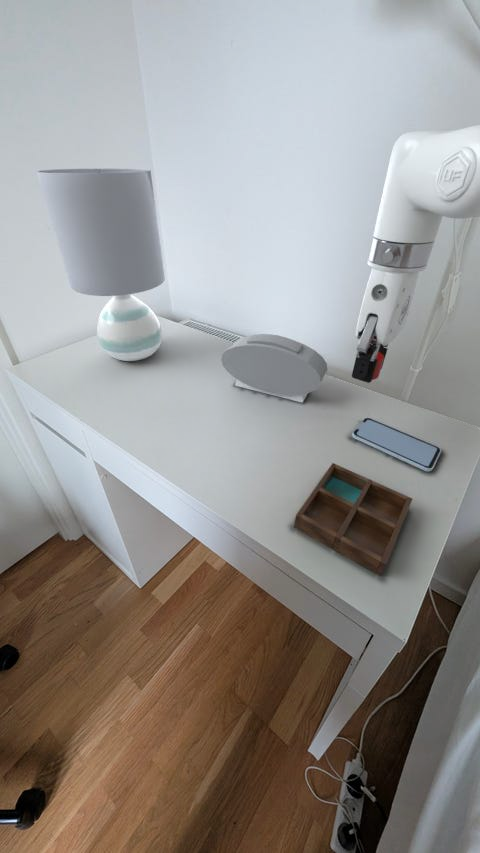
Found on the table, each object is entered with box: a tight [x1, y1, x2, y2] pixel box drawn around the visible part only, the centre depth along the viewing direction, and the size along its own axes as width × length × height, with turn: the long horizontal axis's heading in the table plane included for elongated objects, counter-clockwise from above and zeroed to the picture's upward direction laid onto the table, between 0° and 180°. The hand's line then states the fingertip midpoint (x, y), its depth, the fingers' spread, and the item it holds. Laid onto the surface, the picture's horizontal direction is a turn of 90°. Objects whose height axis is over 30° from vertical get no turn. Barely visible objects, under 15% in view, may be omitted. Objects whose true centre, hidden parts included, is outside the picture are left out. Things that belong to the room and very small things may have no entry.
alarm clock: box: [220, 333, 328, 403], centre depth 76 cm, size 23×6×13 cm, turn 65°
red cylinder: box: [372, 352, 385, 381], centre depth 55 cm, size 4×4×4 cm
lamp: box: [36, 167, 166, 362], centre depth 80 cm, size 22×22×40 cm
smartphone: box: [351, 417, 442, 473], centre depth 64 cm, size 7×1×15 cm
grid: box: [293, 462, 413, 577], centre depth 51 cm, size 13×13×3 cm
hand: (366, 372), depth 56 cm, fingers closed on red cylinder, 4 cm apart
